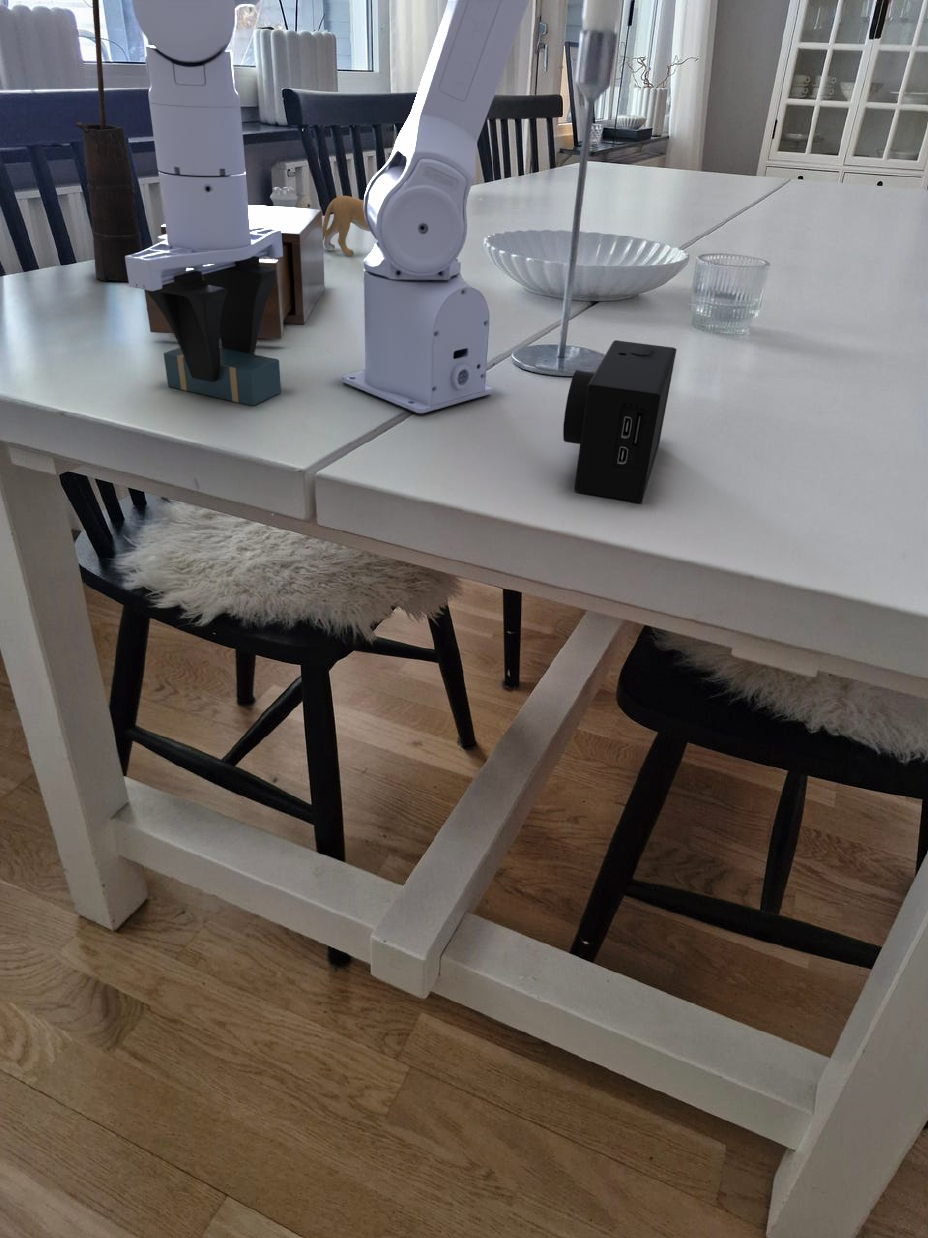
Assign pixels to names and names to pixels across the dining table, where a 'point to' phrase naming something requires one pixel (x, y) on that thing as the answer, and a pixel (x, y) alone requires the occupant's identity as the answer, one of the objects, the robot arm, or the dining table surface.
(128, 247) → the butter churn
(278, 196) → the rook chess piece
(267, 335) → the drawer
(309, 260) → the cabinet
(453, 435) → the dining table surface
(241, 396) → the bundle
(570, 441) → the digital camera
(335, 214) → the lion figurine
